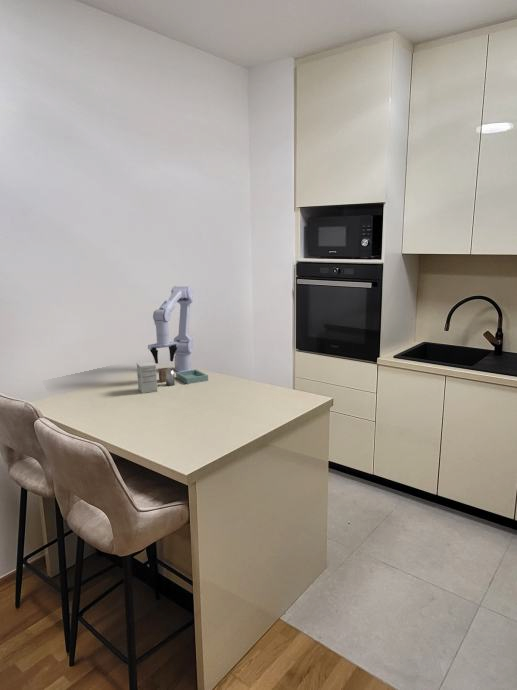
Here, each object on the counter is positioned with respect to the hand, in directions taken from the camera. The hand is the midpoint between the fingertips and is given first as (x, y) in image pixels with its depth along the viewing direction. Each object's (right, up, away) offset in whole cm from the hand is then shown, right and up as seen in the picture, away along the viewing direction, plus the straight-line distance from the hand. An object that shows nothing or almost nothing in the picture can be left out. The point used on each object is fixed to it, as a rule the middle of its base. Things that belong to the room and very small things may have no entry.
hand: (164, 362), depth 229 cm
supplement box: (-5, -13, -13) cm, 19 cm away
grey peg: (+4, -11, -5) cm, 12 cm away
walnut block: (0, -9, +2) cm, 10 cm away
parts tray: (+13, -8, +4) cm, 16 cm away
